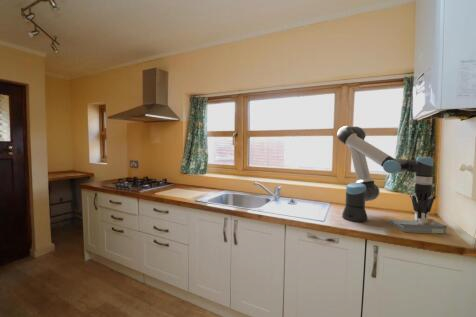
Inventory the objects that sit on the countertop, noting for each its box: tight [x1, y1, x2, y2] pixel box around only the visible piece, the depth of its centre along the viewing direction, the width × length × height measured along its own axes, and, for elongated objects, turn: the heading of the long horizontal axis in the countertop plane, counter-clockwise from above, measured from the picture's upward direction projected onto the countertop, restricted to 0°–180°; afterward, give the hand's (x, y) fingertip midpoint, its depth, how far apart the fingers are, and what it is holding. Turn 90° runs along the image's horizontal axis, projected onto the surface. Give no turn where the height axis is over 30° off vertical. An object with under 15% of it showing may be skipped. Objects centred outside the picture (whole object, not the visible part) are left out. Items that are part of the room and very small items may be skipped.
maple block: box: [418, 216, 435, 225], centre depth 130 cm, size 5×5×5 cm
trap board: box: [388, 219, 447, 234], centre depth 134 cm, size 23×14×4 cm, turn 86°
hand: (421, 223), depth 130 cm, fingers closed
